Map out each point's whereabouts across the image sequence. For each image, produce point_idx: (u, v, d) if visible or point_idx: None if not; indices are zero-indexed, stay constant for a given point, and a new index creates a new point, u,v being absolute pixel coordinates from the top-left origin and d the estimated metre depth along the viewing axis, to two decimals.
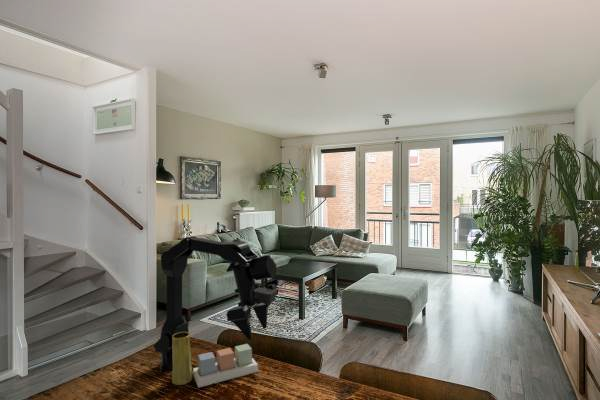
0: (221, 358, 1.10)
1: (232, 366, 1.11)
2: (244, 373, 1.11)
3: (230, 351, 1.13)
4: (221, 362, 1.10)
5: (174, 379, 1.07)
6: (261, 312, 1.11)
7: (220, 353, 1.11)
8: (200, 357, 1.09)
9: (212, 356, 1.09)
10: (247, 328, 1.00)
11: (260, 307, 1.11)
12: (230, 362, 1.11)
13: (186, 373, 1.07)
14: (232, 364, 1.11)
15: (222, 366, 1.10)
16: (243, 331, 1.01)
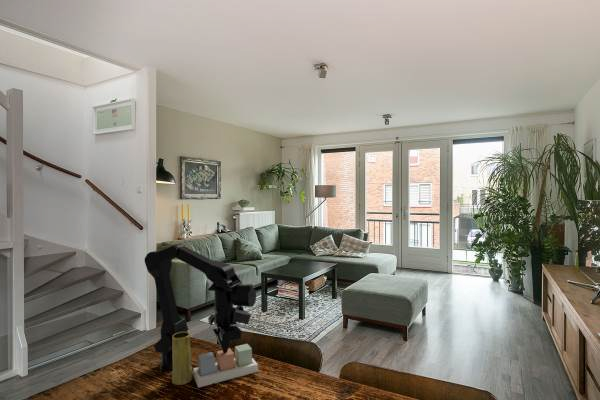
0: (221, 359, 1.10)
1: (232, 367, 1.11)
2: (244, 373, 1.11)
3: (230, 352, 1.13)
4: (221, 363, 1.10)
5: (174, 379, 1.07)
6: None
7: (220, 354, 1.11)
8: (200, 357, 1.09)
9: (212, 356, 1.09)
10: (228, 342, 1.11)
11: None
12: (230, 363, 1.11)
13: (186, 373, 1.07)
14: (232, 365, 1.11)
15: (222, 367, 1.10)
16: (223, 345, 1.11)
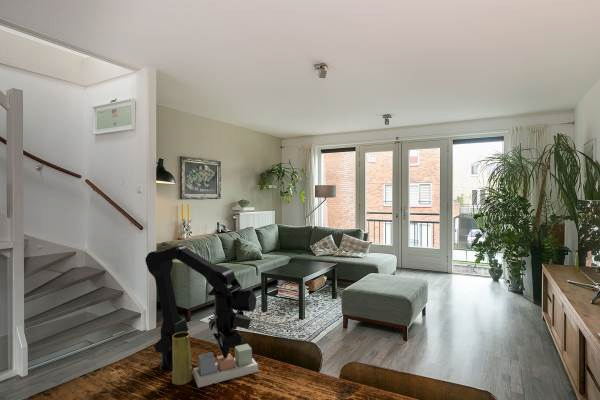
0: (221, 364, 1.10)
1: None
2: (244, 373, 1.11)
3: (230, 357, 1.13)
4: (221, 368, 1.10)
5: (174, 379, 1.07)
6: None
7: (220, 359, 1.11)
8: (200, 357, 1.09)
9: (212, 356, 1.09)
10: (228, 347, 1.12)
11: None
12: (230, 368, 1.11)
13: (186, 373, 1.07)
14: None
15: None
16: (223, 350, 1.11)
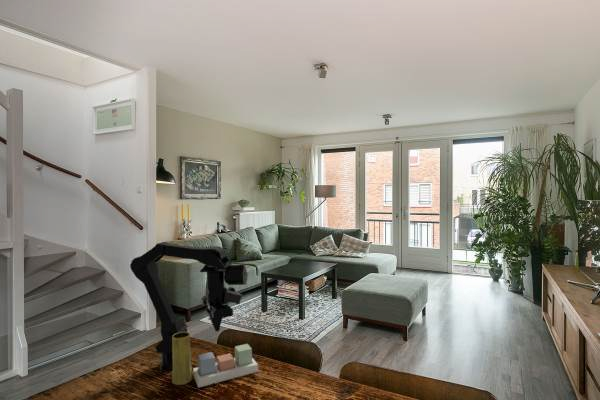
0: (221, 364, 1.10)
1: None
2: (244, 373, 1.11)
3: (230, 357, 1.13)
4: (221, 368, 1.10)
5: (174, 379, 1.07)
6: None
7: (220, 359, 1.11)
8: (200, 357, 1.09)
9: (212, 356, 1.09)
10: (220, 321, 1.16)
11: None
12: (230, 368, 1.11)
13: (186, 373, 1.07)
14: None
15: None
16: (215, 324, 1.16)
